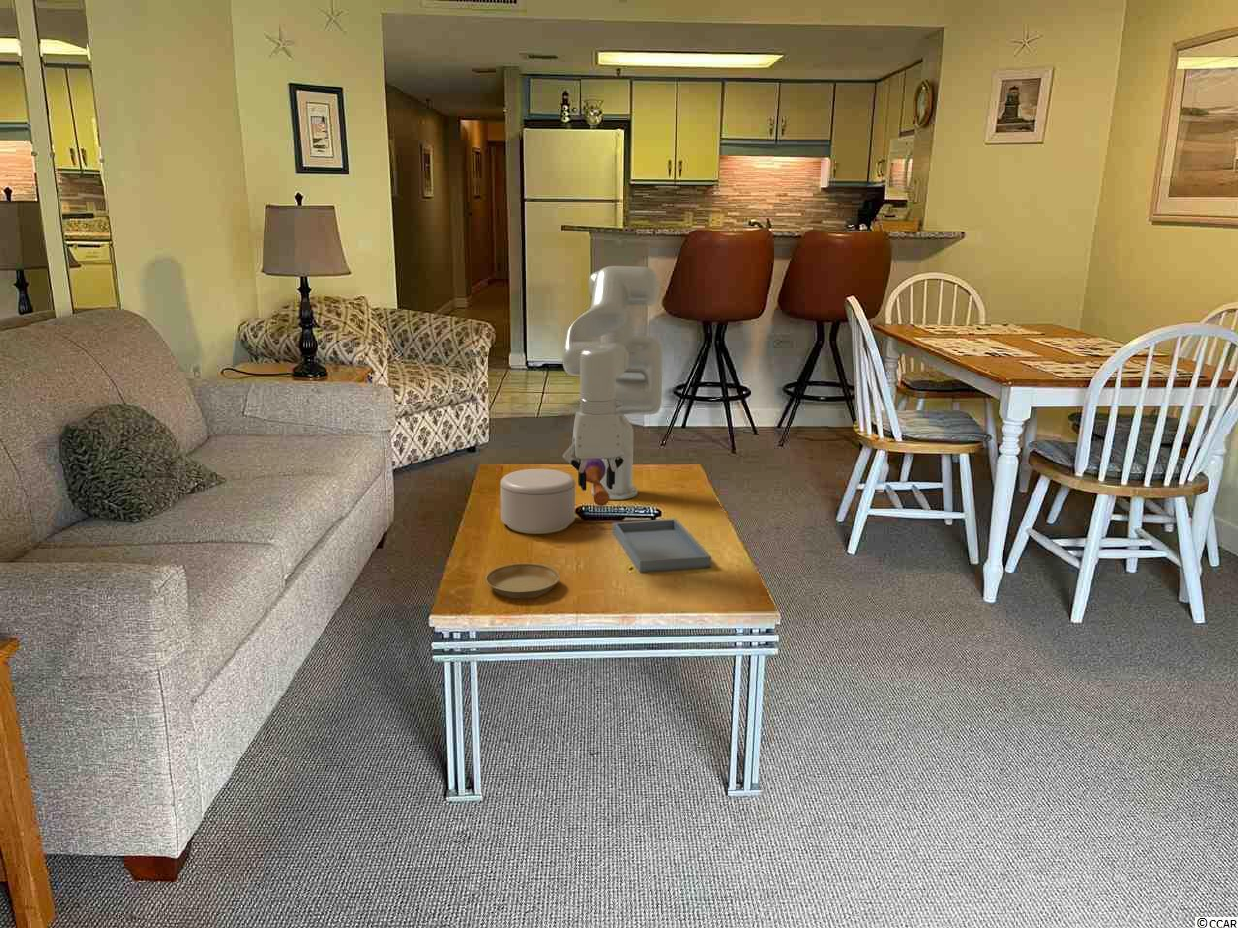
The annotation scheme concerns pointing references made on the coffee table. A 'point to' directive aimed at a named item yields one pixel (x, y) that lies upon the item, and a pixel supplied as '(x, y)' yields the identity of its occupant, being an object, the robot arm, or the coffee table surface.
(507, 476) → the container
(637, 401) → the robot arm
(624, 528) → the tray
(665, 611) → the coffee table surface
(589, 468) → the kendama
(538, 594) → the plant saucer
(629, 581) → the coffee table surface
